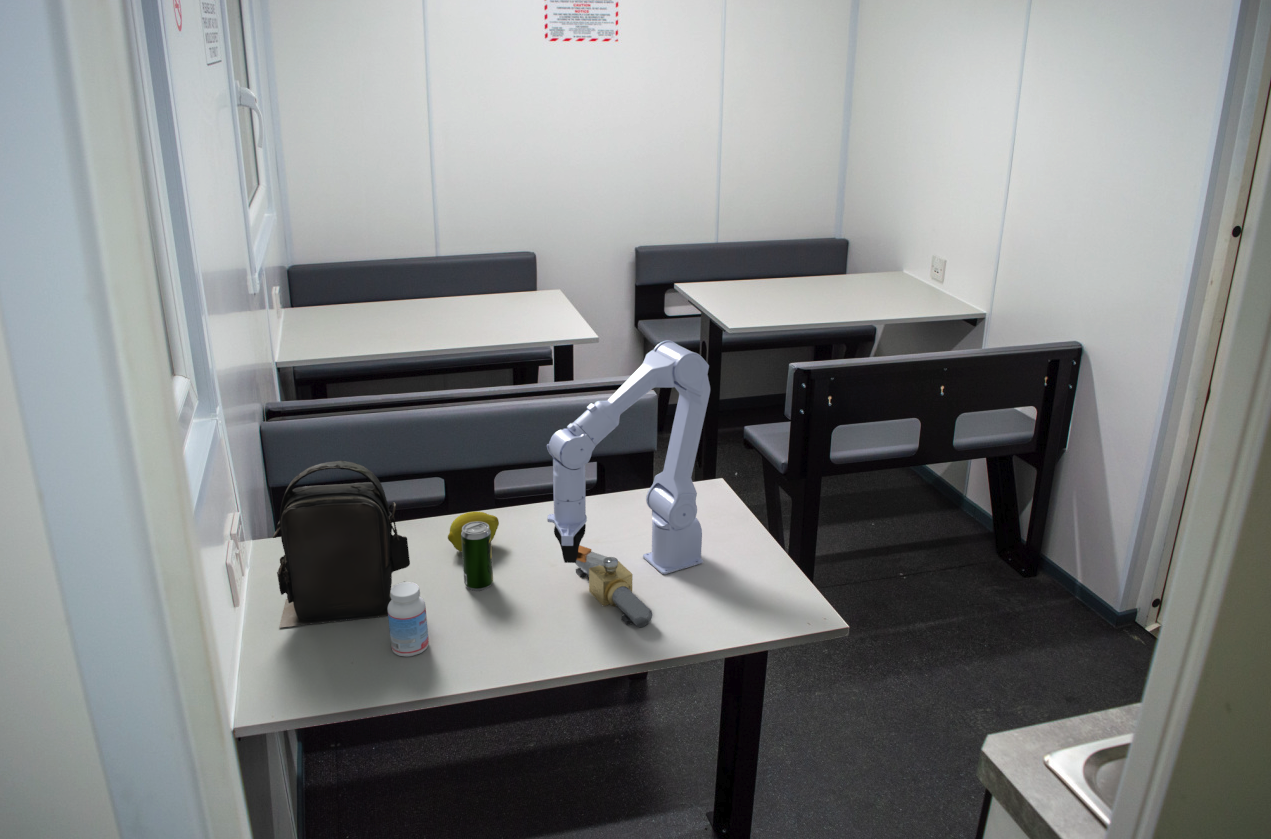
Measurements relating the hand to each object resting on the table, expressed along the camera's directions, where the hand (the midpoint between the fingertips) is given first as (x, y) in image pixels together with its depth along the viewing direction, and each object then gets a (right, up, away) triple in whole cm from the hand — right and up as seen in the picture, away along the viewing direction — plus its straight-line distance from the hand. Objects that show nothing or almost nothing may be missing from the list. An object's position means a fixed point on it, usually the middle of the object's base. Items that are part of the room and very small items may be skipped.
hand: (570, 561), depth 165 cm
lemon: (-20, 0, +15) cm, 26 cm away
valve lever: (+4, 0, +1) cm, 4 cm away
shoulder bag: (-39, -8, -4) cm, 40 cm away
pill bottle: (-26, -12, -15) cm, 32 cm away
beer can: (-17, -5, +3) cm, 18 cm away
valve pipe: (+7, -6, 0) cm, 10 cm away
